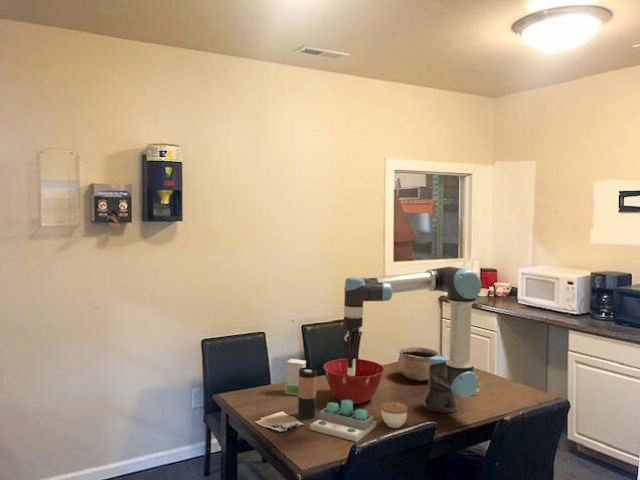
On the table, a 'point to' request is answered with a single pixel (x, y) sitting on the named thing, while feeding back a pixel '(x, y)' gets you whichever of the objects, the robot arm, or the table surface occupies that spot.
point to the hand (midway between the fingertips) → (351, 375)
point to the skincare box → (293, 375)
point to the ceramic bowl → (416, 362)
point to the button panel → (343, 425)
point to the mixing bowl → (353, 379)
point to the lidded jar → (394, 414)
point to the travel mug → (307, 392)
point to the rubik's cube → (477, 388)
